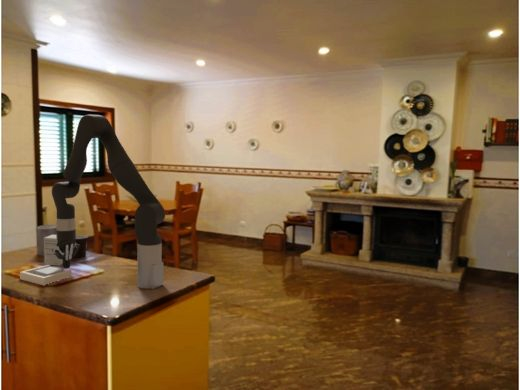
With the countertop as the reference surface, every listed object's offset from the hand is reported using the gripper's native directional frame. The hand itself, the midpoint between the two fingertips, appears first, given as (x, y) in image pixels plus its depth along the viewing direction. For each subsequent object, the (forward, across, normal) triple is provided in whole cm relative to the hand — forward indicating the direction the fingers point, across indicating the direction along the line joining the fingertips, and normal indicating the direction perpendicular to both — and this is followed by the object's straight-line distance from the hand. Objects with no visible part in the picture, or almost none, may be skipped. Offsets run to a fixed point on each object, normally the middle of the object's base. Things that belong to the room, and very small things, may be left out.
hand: (66, 267), depth 178 cm
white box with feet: (+2, -8, 0) cm, 9 cm away
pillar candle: (+2, +16, +34) cm, 38 cm away
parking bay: (+2, -10, 0) cm, 10 cm away
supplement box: (+2, +7, +16) cm, 18 cm away
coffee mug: (+2, +21, +17) cm, 27 cm away
